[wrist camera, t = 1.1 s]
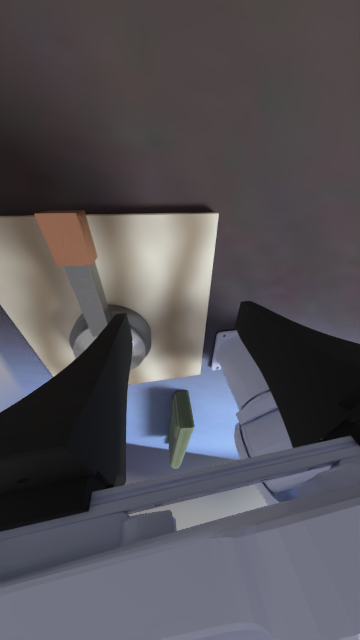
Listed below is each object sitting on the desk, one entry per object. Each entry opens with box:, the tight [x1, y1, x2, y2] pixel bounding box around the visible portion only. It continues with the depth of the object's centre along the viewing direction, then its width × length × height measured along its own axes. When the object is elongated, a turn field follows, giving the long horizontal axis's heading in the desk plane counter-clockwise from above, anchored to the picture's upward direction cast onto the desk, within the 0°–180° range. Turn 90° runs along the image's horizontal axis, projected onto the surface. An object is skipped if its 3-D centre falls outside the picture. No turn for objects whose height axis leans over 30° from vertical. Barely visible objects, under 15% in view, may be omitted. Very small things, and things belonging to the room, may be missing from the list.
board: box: [0, 212, 219, 385], centre depth 19 cm, size 20×22×2 cm
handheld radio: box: [168, 390, 194, 468], centre depth 36 cm, size 7×3×25 cm
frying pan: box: [34, 210, 145, 371], centre depth 15 cm, size 7×16×2 cm, turn 0°
